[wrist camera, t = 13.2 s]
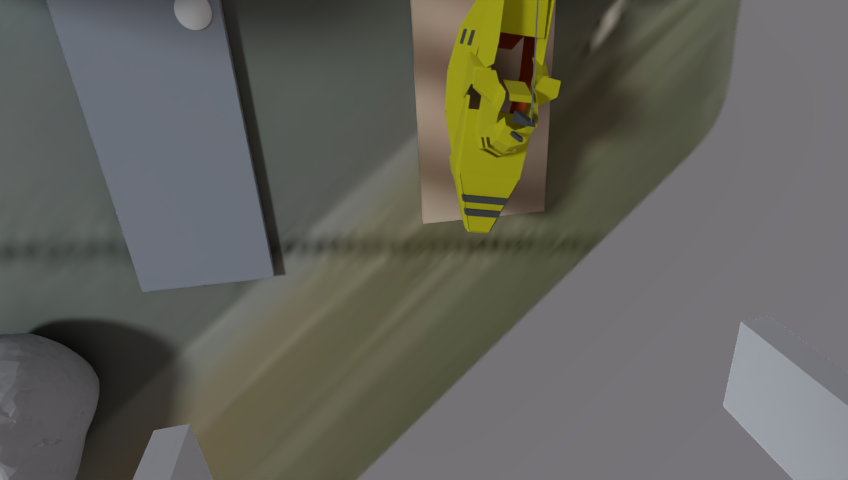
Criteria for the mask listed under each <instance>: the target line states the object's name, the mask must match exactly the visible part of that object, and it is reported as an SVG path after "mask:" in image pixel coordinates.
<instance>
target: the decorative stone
mask: <svg viewBox="0 0 848 480" xmlns="http://www.w3.org/2000/svg"><path fill="white" fill-rule="evenodd" d="M98 398H99V380H98V377H97V375H96V373H95V372H94V370H93V368H92V366H91V365H90V364H89V363H88V362H87V361H86V360H85V359H83V358H82V357H81V356H80V355H78V354H77V353H75V352H74V351H73V350H71V349H69V348H68V347H66V346H65V345H63V344H60V343H58V342H55V341H53V340H50V339H48V338H45V337H42V336H38V335H34V334H27V333H19V334H1V335H0V480H75V478H76V476H77V474H78V471H79V467H80V463H81V458H82V453H83V449H84V445H85V436H86V434H87V431H88V428H89V426H90V424H91V422H92V419H93V416H94V413H95V411H96V408H97V403H98Z"/></svg>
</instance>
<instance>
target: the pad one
mask: <svg viewBox="0 0 848 480" xmlns="http://www.w3.org/2000/svg"><path fill="white" fill-rule="evenodd" d="M46 2H47V5H48V8H49V11H50V14H51V17H52V20H53V23H54V26H55V29H56V32H57V35H58V38H59V41H60V44H61V47H62V50H63V53H64V56H65V59H66V62H67V65H68V68H69V71H70V74H71V77H72V80H73V83H74V86H75V89H76V92H77V95H78V98H79V102H80V105H81V108H82V111H83V114H84V117H85V120H86V123H87V126H88V129H89V132H90V135H91V138H92V141H93V144H94V147H95V150H96V153H97V156H98V159H99V162H100V165H101V168H102V171H103V174H104V177H105V180H106V183H107V186H108V189H109V192H110V195H111V198H112V201H113V204H114V207H115V210H116V213H117V216H118V219H119V222H120V225H121V228H122V231H123V234H124V237H125V240H126V243H127V246H128V249H129V252H130V255H131V258H132V262H133V265H134V268H135V271H136V274H137V277H138V280H139V283H140V286H141V289H142V292H147V291H156V290H165V289H174V288H183V287H192V286H201V285H210V284H219V283H228V282H237V281H246V280H255V279H264V278H273V277H274V276H275V270H274V265H273V260H272V255H271V250H270V245H269V240H268V235H267V230H266V225H265V220H264V214H263V209H262V204H261V199H260V194H259V189H258V184H257V179H256V174H255V169H254V164H253V159H252V154H251V149H250V144H249V139H248V134H247V129H246V124H245V119H244V114H243V109H242V104H241V99H240V93H239V88H238V83H237V78H236V73H235V68H234V63H233V58H232V53H231V48H230V43H229V38H228V33H227V28H226V23H225V18H224V13H223V8H222V3H221V0H46Z"/></svg>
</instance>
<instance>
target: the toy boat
mask: <svg viewBox="0 0 848 480" xmlns="http://www.w3.org/2000/svg"><path fill="white" fill-rule="evenodd" d="M554 3H555V0H476V1H475V3H474V4H473V6H472V8H471V9H470V11H469V13H468V14H467V16H466V18H465V19H464V21H463V23H462V24H461V26H460V28H459V31H458V34H457V38H456V41H455V45H454V48H453V52H452V55H451V59H450V62H449V66H448V69H447V82H446V97H445V116H446V122H447V128H448V134H449V140H450V146H451V155H450V156H449V161H450V167H451V172H452V174H453V178H454V182H455V185H456V191H457V197H458V202H459V208H460V214H461V217H462V220H463V223H464V226H465V228H466V229H467V231H468V232H477V233H488V232H489V231H490V230H491V229H492V227H493V225H494V223H495V222H496V220H497V218H498V217H499V215H501V214H500V213H501V211H502V210H503V208H504V206H505V205H506V203H508V202H507V201H509V200H508V199H509V197H510V196H511V194H512V192H513V191H514V189H515V187H516V185H517V184H518V182H519V180H520V177H521V172H522V168H523V164H524V160H525V156H526V152H527V147H528V143H529V139H530V135H531V133H532V132H533V130H534V128H536V127H537V122H538V106H540V105H542V104H544V103H546V102H548V101H550V100H553V99H555V98H557V96H558V92H559V88H560V84H561V81H559V80H555V79H551V78H549V74H548V70H547V66H546V62H544V58H545V53H546V47H547V42H548V36H549V31H550V25H551V19H552V14H553V8H554ZM523 37H524V42H523V51H522V59H521V68H520V76H519V80H518V81H511V80H504V79H503V81H504V83H505V85H506V87H507V89H508V91H509V100H510V101H512V104H511V108H510V111H509V113H507V112H502V111H500V109H501V107H502V105H503V102H504V100H505V93H506V91H505V90H504V88H503V86H502V85H501V83H500V82H499V80H498V77H497V73H496V70H491V66H490V65H492V64H494V61H495V56H496V52H497V48H502V49H509V50H512V49H513V48H514V47H515V46H516V45H517V43H518V42H519V41H520V40H521V39H522V38H523ZM478 47H479V49H478ZM477 50H478V51H477ZM471 84H473V88H474V89H475V90H476V91H477V92H478V93H479V94H480V95H482V96H481V101H480V107H479V109H477V108H469V103H470V101H469V100H470V95H468V90H469V87H470V85H471Z"/></svg>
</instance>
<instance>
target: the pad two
mask: <svg viewBox="0 0 848 480" xmlns="http://www.w3.org/2000/svg"><path fill="white" fill-rule="evenodd" d="M475 1H476V0H410V3H411V22H412V40H413V58H414V77H415V95H416V113H417V132H418V150H419V168H420V187H421V205H422V221H423V223H434V222H444V221H453V220H462V217H461V214H460V208H459V202H458V197H457V191H456V185H455V182H454V178H453V174H452V172H451V167H450V161H449V156H450V155H451V146H450V140H449V134H448V128H447V122H446V116H445V97H446V82H447V69H448V66H449V62H450V59H451V55H452V52H453V48H454V45H455V41H456V38H457V34H458V31H459V28H460V26H461V24H462V23H463V21H464V19H465V18H466V16H467V14H468V13H469V11H470V9H471V8H472V6H473V4H474V3H475ZM555 11H556V0H555V3H554V8H553V14H552V19H551V25H550V31H549V36H548V42H547V47H546V53H545V58H544V62H546V66H547V70H548V74H549V78H551V79H552V65H553V47H554V29H555ZM523 42H524V37H523V38H522V39H521V40H520V41H519V42H518V43H517V45H516V46H515V47H514V48H513V49H512V50H509V49H502V48H497V52H496V56H495V61H494V64H492V65H490V66H491V70H496V73H497V77H498V80H499V82H500V83H501V85H502V86H503V88H504V90H505V91H506V93H505V100H504V102H503V105H502V107H501V109H500V111H502V112H507V113H509V111H510V108H511V104H512V101H510V100H509V91H508V89H507V87H506V85H505V83H504V81H503V79H504V80H511V81H518V80H519V76H520V68H521V59H522V51H523ZM478 49H479V47H478ZM477 51H478V50H477ZM468 95H470V100H469V101H470V103H469V108H477V109H479V107H480V101H481V96H482V95H480V94H479V93H478V92H477V91H476V90H475V89H474V88H473V84H471V85H470V87H469V90H468ZM549 118H550V101H548V102H546V103H544V104H542V105H540V106H538V122H537V127H536V128H534V130H533V132H532V133H531V135H530V139H529V143H528V147H527V152H526V156H525V160H524V164H523V168H522V172H521V177H520V180H519V182H518V184H517V185H516V187H515V189H514V191H513V192H512V194H511V196H510V197H509V199H508V200H509V201H507V202H508V203H506V205H505V206H504V208H503V210H502V211H501V213H500V214H501V215H499V216H502V215H512V214H522V213H532V212H542V211H544V207H545V190H546V172H547V154H548V136H549Z"/></svg>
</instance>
